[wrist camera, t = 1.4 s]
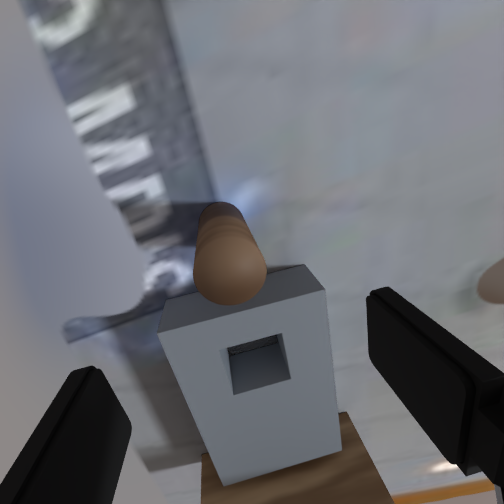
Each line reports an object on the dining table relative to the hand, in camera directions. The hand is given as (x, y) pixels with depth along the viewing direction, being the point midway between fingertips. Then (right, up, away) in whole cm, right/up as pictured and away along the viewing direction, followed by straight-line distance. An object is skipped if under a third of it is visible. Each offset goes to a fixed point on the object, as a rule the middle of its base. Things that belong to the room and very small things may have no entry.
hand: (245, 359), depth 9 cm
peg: (-2, +6, +14) cm, 16 cm away
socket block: (+1, -9, +21) cm, 23 cm away
